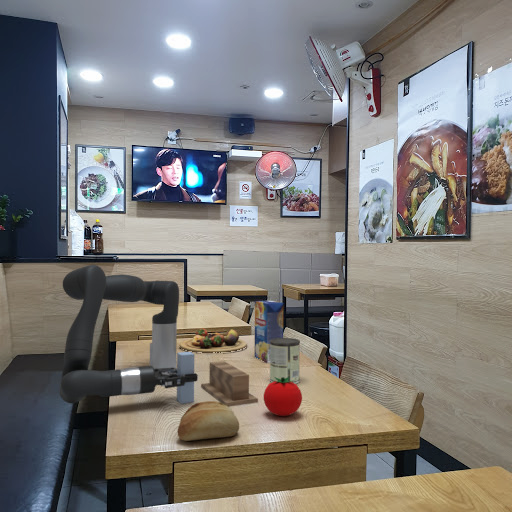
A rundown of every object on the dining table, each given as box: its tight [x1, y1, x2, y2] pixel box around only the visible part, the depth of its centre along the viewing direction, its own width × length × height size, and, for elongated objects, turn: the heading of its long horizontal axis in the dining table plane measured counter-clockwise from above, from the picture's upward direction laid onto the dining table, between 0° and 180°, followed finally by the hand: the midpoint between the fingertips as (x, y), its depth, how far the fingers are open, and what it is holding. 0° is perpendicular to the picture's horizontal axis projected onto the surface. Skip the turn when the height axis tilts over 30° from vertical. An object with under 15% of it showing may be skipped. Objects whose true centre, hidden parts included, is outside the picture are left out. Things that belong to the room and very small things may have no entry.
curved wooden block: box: [200, 360, 259, 407], centre depth 145 cm, size 22×10×8 cm, turn 26°
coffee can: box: [269, 337, 301, 385], centre depth 161 cm, size 10×10×14 cm
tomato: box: [263, 377, 303, 417], centre depth 126 cm, size 10×10×10 cm
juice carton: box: [254, 300, 284, 364], centre depth 195 cm, size 12×8×24 cm, turn 25°
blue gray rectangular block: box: [176, 351, 195, 405], centre depth 138 cm, size 4×4×14 cm
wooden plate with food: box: [179, 327, 248, 353], centre depth 221 cm, size 32×32×8 cm
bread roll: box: [177, 400, 240, 442], centre depth 110 cm, size 10×15×8 cm, turn 115°
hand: (193, 374), depth 139 cm, fingers open, 5 cm apart
